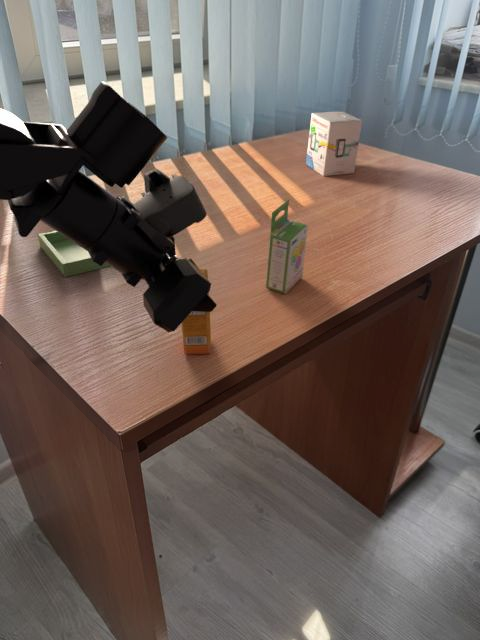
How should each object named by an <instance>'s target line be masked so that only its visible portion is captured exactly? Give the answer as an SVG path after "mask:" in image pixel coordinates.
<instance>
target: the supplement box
mask: <svg viewBox="0 0 480 640" xmlns="http://www.w3.org/2000/svg"><path fill="white" fill-rule="evenodd" d="M199 270H200V271H201V272H202V273H203V274H204V275H205V277H206V278H207V279H208V280H209V274H208V269H207V268H199ZM207 294H208V295H209V296H210V291H209V292H208V293H207ZM211 329H212V328H211V312H199V311H192V312H191V313H190V314H189V315H188V316H187V317H186V318H185V319H184V321H183V322H182V323H181V331H182V333H181V334H182V343H183V353H184V355H208V354H211V343H212V340H211V339H212V333H211V331H212V330H211Z"/></svg>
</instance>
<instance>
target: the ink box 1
mask: <svg viewBox="0 0 480 640" xmlns="http://www.w3.org/2000/svg"><path fill="white" fill-rule="evenodd" d="M289 205H290V199H287V200H286V201H285V202H284V203H282V204H281V205H280V206H278V207H277V208H276V209H274V210H273V211H272V212H271V219H270V233H269V238H268V239H269V242H268V243H269V246H268V255H267V268H266V278H265V279H266V280H265V288H266V289H269V290H272V291H274V292H278V293H280V294H283V295H286V294H288V292H289V291H291V289H292V288H293V287H295V285H296V284H297V283H298V282H299V281H300V280H301V279H302V278H303V273H304V265H305V255H306V247H307V238H308V231H309V230H308V229H309V226H308V224H306V223H302V222H298V221H294V220H291V219H288V217H289V216H288V215H289V207H290V206H289ZM282 211H284V212H283V214H282V215H281V216H280V217H279V218H277V217H278V215H279V214H280V213H281V212H282ZM276 218H277V219H276Z"/></svg>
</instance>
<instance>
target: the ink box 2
mask: <svg viewBox="0 0 480 640" xmlns="http://www.w3.org/2000/svg"><path fill="white" fill-rule="evenodd" d="M362 125H363V120H362V119H360V118H358V117H356V116H354V115H352V114H349V113H347V112H345V111H342V110H341V111H326V112H311V116H310V126H309V134H308V141H307V142H308V143H307V151H306V161H305V165H306V166H308V167H309V168H311V169H312V170H313V171H314V172H316V173H318V174H319V175H321V176H322V177H328V176H339V175H347V174H348V175H349V174H354V173H355V168H356V163H357V156H358V151H359V143H360V137H361V133H362V132H361V131H362Z"/></svg>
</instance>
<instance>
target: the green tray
mask: <svg viewBox="0 0 480 640" xmlns="http://www.w3.org/2000/svg"><path fill="white" fill-rule="evenodd" d="M37 238H38V243H39V246H40V248H41V250H42V251H43V252H44V253H45V254H46V256H47V257H48V258H49V259H50V261H51V262H52V263H53V264H54V266H55V267H56V268H57V269H58V270H59V272H60V273H61V274H62V276H63V277H64V278H68V277H71V276H72V277H73V276H76V275H81V274H84V273H88V272H92V271H96V270H101V269H104V268H108V267H111V266H110V265H108V264H107V263H105V262H104V264H103V265H102V266H100V265H98V264H97V263H95V262H94V261H92V259H91V257H90V255H89V253H88V251H86V250H85V249H83V248H82V247H80V246H79V245H77V244H76V243H74V242H73V241H71V240H69V239H68V238H66V237H65V236H63V235H62V234H60V233H59V232H57V231H56V230H52V231H46V232H41V233H37Z"/></svg>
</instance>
